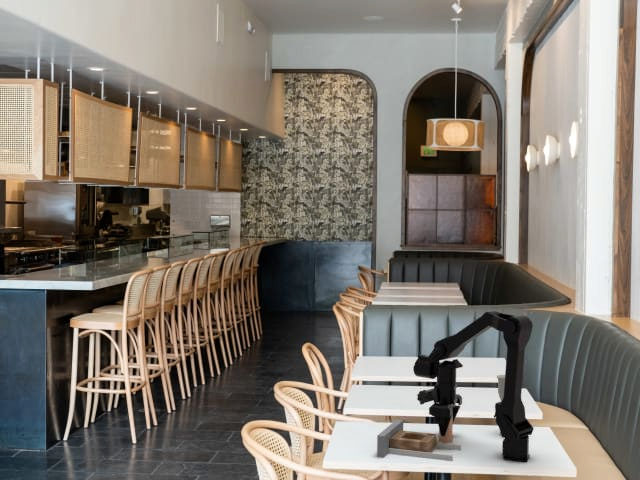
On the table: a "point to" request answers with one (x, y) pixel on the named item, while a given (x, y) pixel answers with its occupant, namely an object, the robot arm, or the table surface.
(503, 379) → the chalice
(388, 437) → the backstop
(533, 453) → the table surface
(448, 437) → the dowel
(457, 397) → the robot arm
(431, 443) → the socket block
